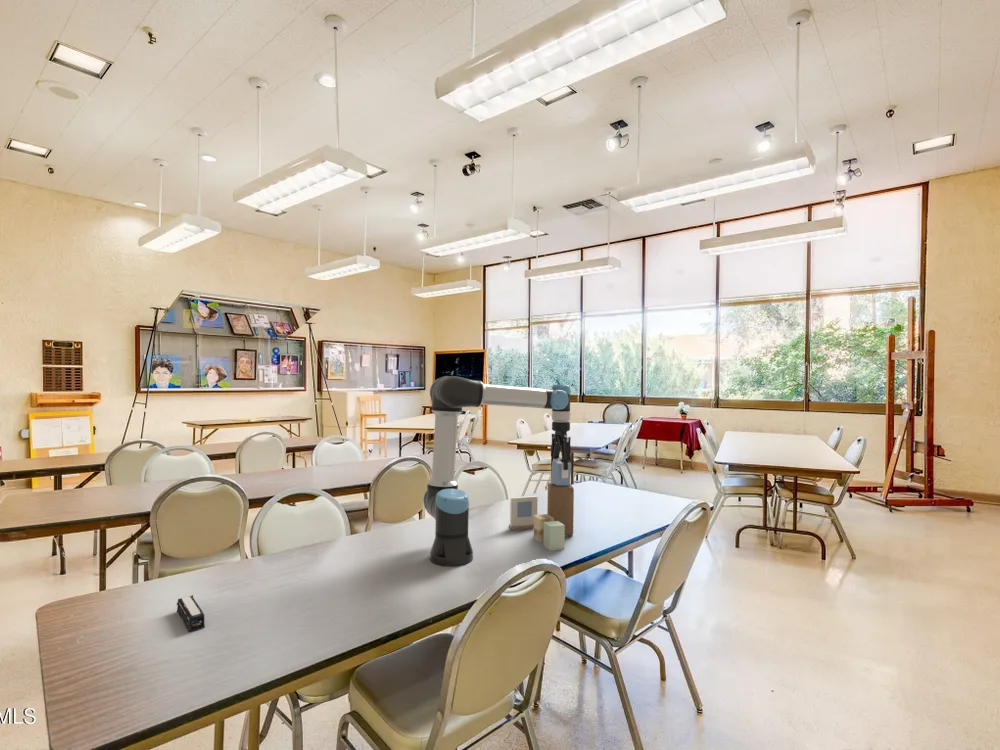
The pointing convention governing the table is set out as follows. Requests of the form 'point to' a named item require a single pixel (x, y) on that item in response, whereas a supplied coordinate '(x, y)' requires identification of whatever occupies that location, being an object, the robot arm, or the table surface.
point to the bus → (190, 613)
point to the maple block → (540, 526)
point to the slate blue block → (559, 474)
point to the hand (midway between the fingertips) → (560, 475)
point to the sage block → (554, 535)
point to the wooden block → (561, 505)
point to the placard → (522, 512)
